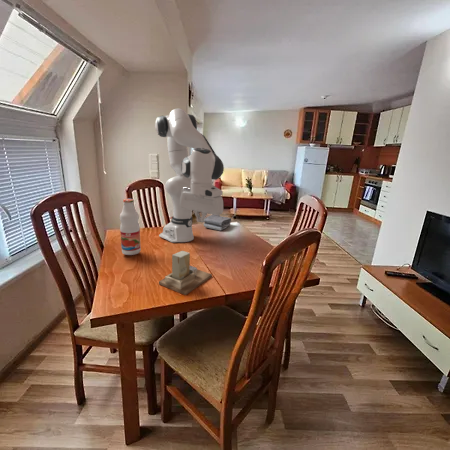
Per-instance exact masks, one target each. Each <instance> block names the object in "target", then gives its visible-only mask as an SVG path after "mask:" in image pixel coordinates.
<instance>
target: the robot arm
mask: <svg viewBox="0 0 450 450" xmlns="http://www.w3.org/2000/svg"><path fill="white" fill-rule="evenodd" d="M154 128H155V131H156V133H157V135H158V136H159V137H161V138H167V139H166V140H167V141H166V142H167V143H166V145H167V154H168V160H169V166H170V167H171V169H173V171H174V173H175V176H172V177H171V178H169V179H167V180H166V182H165V186H164V187H165V190H166V192H167V194H168V195H169V196H170V198H171V201H172V208H173V209H172V211H173V212H172V213H173V214H172V216H171V217H169V219H170V220H171V221H170V222H169V223H167V224H165V225H164V227H163V229H162V232H161V233H160V234H159V235H158V236H159V237H160V238H162V239H165V240H166V241H169V242H170V243H186V242H187V243H188V242H191V241H193V240H194V239H195V238H194V233H193V216H192V215H193V213H194V216H195V217H196V222H198V223H204V219H205V218H206V216H207V215H208V214H209V215H220V216H221V215H222V214H223V213H224V200H223V197H222V196H223V194H224V193H223V192H224V191H223V190H222V189H220V188H218V187H217V186H214V185H213V181H217V180H218V179H219V178H221V177H222V175H223V174H224V172H225V167H224V163H223V161H222V160H221V158H220V157H219V156H218V155H217V153H216V152H215V150H214V148H213V147H212V145H211V144H210V142H209V140H208V139H207V138H206V136H205V135H204V134H203V133H201V132H200V131H199V130H197V129H198V122H197V120H196V117H195V116H194V115H193V114H190V113H189V114H188V112H186V111H185V109H182V108H179V107H177V108H174V109H172V110H171V111H170V112H169V114H168V115H160V116H157V117H156V119H155V122H154ZM188 148H191V149H192V152H191V154H190V155H189V152H188ZM200 213H201V214H200ZM200 215H201V216H200Z"/></svg>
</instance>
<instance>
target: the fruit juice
mask: <svg viewBox="0 0 450 450" xmlns="http://www.w3.org/2000/svg"><path fill="white" fill-rule="evenodd" d="M122 200H123V201H122V202H123V206H122V210H121V212H120V214H119V220H120V226H119V227H120V228H119V232H120V233H119V234H120V244H121V245H120V246H121V253H122V254H123V255H127V256H132V255H133V256H134V255H137V254H139V253H140V252H141V250H142V249H141V248H142V247H141V229H140V228H141V227H140V223H139V220H140V219H139V218H140V214H139V213H138V212H137V210H136V208H135V205H134V202H135V201H134V199H133V198H124V199H122Z"/></svg>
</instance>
